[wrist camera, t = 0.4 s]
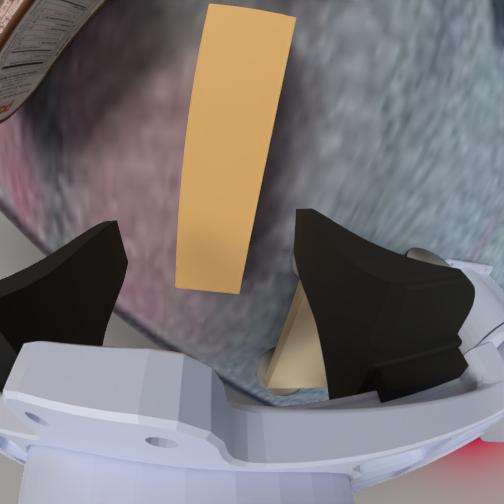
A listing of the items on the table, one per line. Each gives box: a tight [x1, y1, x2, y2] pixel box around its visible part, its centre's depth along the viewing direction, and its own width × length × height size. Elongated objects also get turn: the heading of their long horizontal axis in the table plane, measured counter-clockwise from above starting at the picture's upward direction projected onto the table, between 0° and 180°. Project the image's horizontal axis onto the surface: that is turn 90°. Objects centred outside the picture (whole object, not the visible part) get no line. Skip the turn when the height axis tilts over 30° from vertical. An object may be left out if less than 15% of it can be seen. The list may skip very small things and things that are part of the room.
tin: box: [0, 0, 109, 123], centre depth 8 cm, size 15×3×8 cm, turn 131°
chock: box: [175, 4, 296, 294], centre depth 16 cm, size 4×16×5 cm, turn 170°
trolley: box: [256, 248, 451, 396], centre depth 24 cm, size 15×15×5 cm
